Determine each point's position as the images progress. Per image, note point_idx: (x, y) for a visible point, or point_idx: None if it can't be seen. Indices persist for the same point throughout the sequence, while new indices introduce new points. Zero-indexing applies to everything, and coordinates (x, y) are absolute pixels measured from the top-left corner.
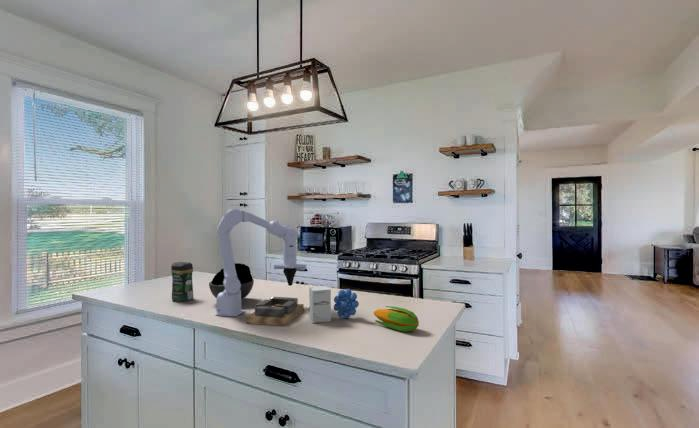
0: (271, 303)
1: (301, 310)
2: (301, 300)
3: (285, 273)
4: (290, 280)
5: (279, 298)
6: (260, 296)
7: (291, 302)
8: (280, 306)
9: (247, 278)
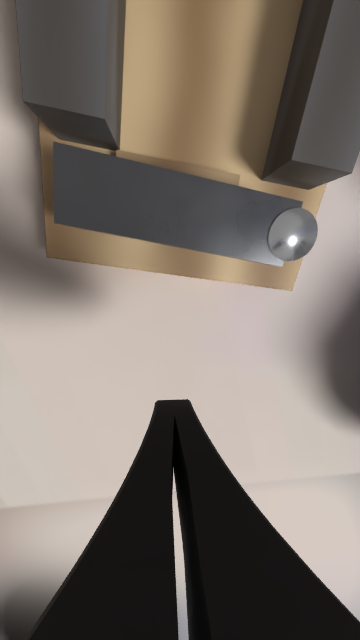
0: (274, 167)
1: None
2: (141, 420)
3: (320, 634)
4: (159, 445)
5: (224, 204)
6: (338, 455)
7: (47, 16)
8: (195, 168)
9: None
